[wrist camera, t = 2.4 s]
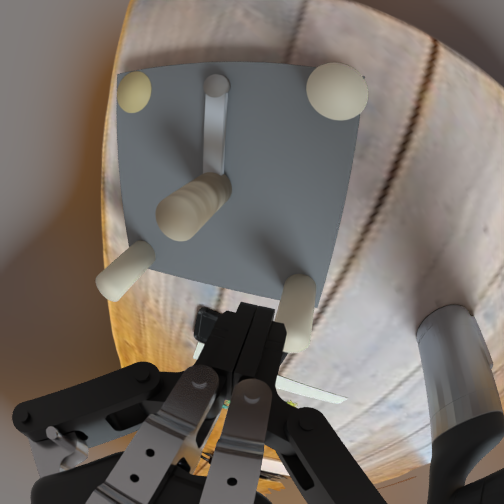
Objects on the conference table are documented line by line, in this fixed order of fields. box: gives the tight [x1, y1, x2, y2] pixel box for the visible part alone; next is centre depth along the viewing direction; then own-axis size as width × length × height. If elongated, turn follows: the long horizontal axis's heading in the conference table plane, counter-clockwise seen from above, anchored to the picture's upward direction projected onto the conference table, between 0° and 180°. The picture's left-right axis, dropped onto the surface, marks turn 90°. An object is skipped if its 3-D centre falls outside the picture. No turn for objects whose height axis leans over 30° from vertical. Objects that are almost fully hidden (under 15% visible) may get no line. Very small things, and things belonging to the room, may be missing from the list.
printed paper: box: [193, 342, 347, 409], centre depth 53 cm, size 30×30×2 cm
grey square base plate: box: [96, 62, 368, 353], centre depth 24 cm, size 25×25×11 cm
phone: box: [194, 308, 288, 365], centre depth 41 cm, size 8×1×15 cm
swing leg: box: [155, 74, 232, 241], centre depth 20 cm, size 13×4×8 cm, turn 175°
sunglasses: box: [201, 451, 213, 464], centre depth 84 cm, size 10×12×5 cm
